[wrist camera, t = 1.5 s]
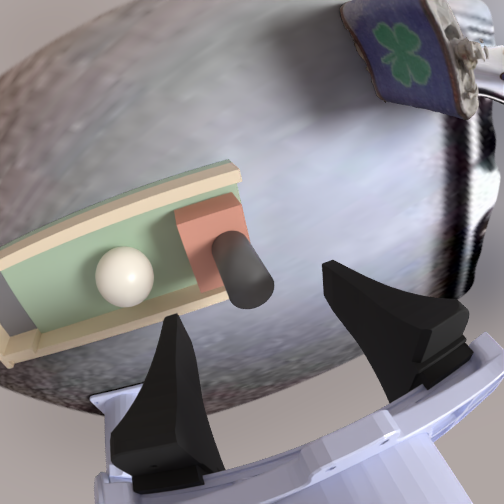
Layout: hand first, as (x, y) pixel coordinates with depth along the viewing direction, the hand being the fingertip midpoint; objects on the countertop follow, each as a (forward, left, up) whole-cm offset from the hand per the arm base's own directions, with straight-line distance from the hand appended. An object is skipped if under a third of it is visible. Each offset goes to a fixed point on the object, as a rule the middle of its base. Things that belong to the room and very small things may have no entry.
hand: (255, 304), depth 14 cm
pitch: (0, +10, -10) cm, 14 cm away
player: (0, +1, -8) cm, 8 cm away
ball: (0, +7, -7) cm, 10 cm away
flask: (+11, -15, -10) cm, 21 cm away
